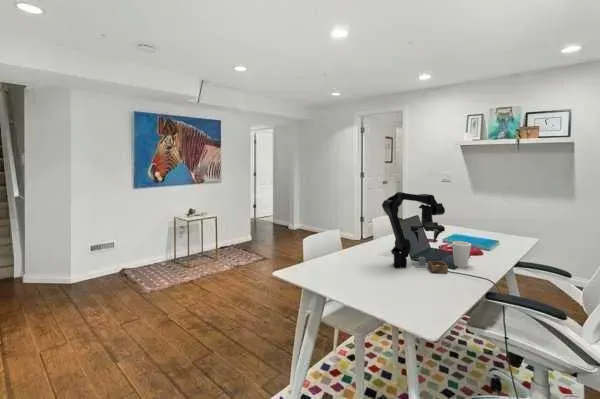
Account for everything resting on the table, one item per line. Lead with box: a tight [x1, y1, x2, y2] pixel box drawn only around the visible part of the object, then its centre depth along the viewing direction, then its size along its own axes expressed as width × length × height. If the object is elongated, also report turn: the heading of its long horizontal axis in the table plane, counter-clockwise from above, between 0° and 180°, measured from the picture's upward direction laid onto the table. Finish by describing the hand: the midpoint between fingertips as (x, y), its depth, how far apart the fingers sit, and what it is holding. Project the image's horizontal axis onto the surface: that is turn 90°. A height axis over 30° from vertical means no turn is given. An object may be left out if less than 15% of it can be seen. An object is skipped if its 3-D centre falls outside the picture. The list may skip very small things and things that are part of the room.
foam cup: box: [451, 240, 472, 269], centre depth 188 cm, size 10×9×13 cm
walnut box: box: [427, 260, 449, 275], centre depth 181 cm, size 8×8×4 cm
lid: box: [412, 256, 428, 269], centre depth 191 cm, size 9×9×5 cm
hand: (425, 242), depth 194 cm, fingers open, 9 cm apart
